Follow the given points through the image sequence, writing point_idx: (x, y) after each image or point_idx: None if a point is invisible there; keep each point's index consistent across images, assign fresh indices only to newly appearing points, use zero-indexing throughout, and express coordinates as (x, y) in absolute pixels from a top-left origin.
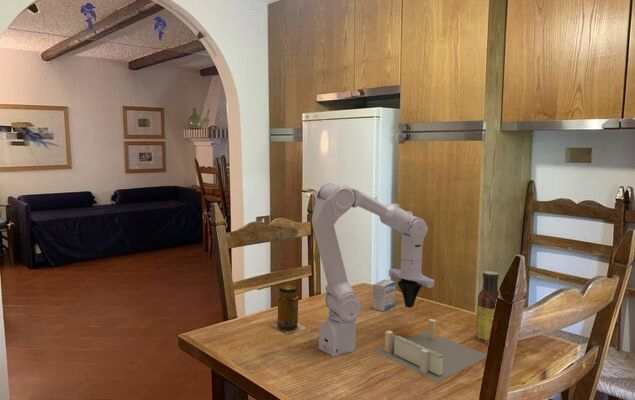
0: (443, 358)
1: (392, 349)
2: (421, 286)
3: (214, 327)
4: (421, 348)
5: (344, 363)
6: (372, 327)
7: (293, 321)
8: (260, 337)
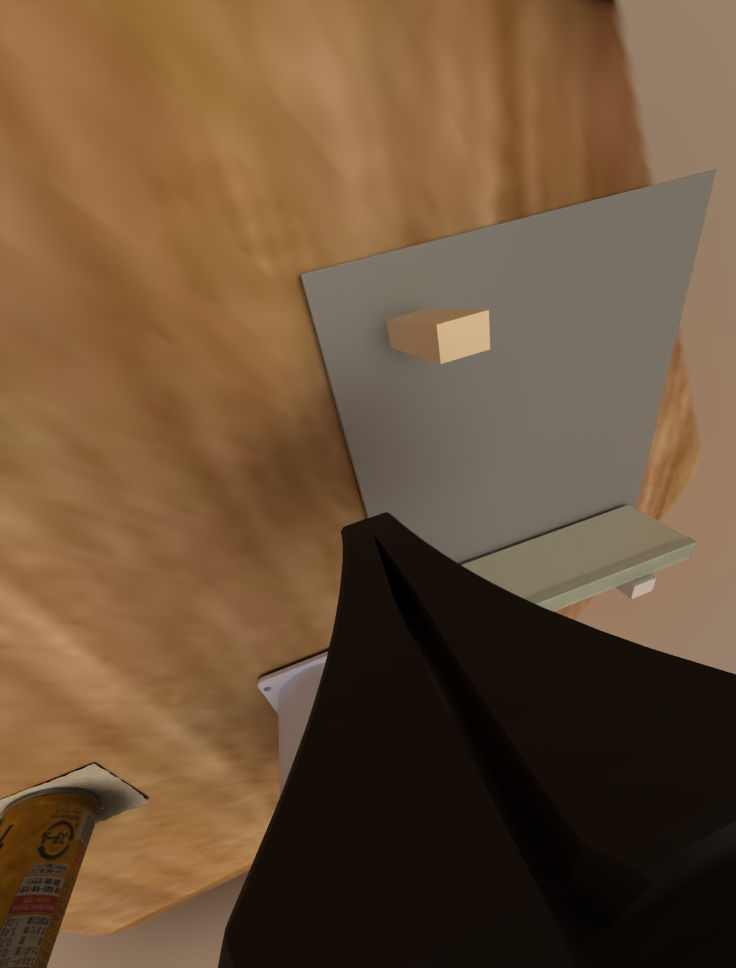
0: (574, 427)
1: None
2: (704, 685)
3: None
4: (620, 584)
5: None
6: (113, 542)
7: (80, 834)
8: (161, 838)
